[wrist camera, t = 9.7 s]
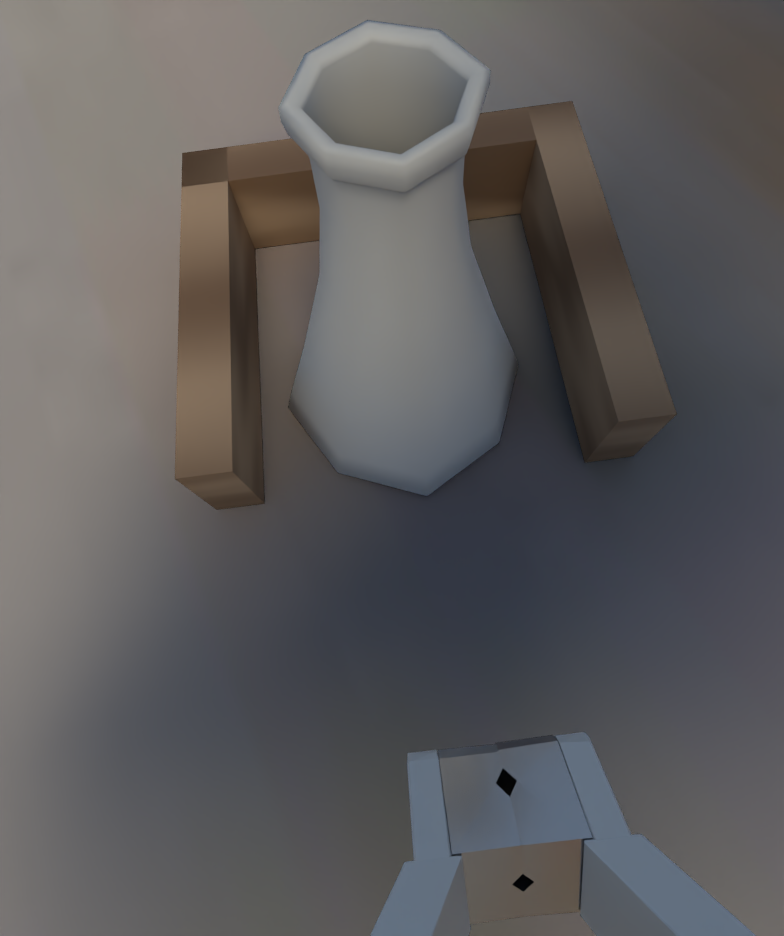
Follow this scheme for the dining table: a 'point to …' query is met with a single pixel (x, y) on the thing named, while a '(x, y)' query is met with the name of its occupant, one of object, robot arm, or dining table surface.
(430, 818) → the robot arm
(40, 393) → the dining table surface
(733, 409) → the dining table surface
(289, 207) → the walnut bay
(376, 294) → the flask
